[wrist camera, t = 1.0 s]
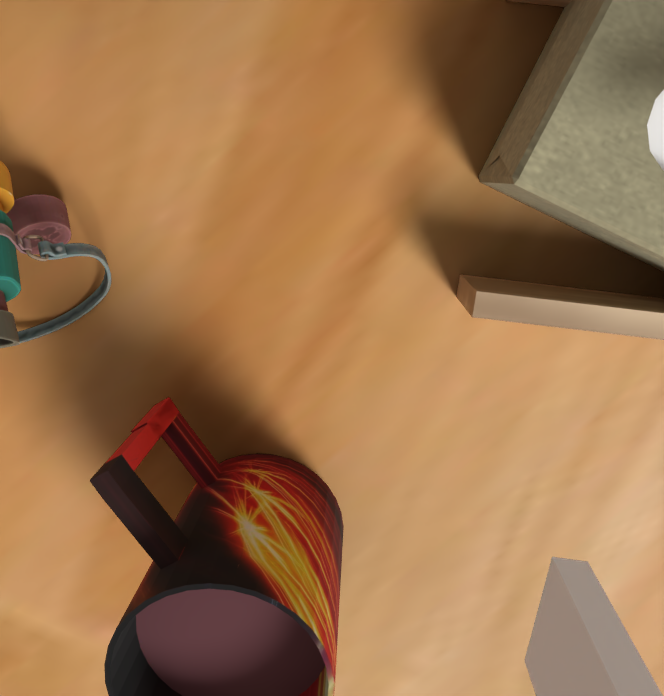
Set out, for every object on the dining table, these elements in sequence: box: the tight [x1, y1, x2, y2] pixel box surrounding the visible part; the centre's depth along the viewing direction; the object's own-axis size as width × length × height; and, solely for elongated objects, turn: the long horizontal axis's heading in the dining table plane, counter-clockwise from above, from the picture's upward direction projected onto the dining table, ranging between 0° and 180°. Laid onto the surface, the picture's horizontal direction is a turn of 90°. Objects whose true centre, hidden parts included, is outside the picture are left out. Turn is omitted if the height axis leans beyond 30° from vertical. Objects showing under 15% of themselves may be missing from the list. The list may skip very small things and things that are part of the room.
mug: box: [90, 397, 343, 696], centre depth 32 cm, size 10×14×12 cm
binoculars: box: [0, 161, 111, 348], centre depth 30 cm, size 9×9×10 cm
